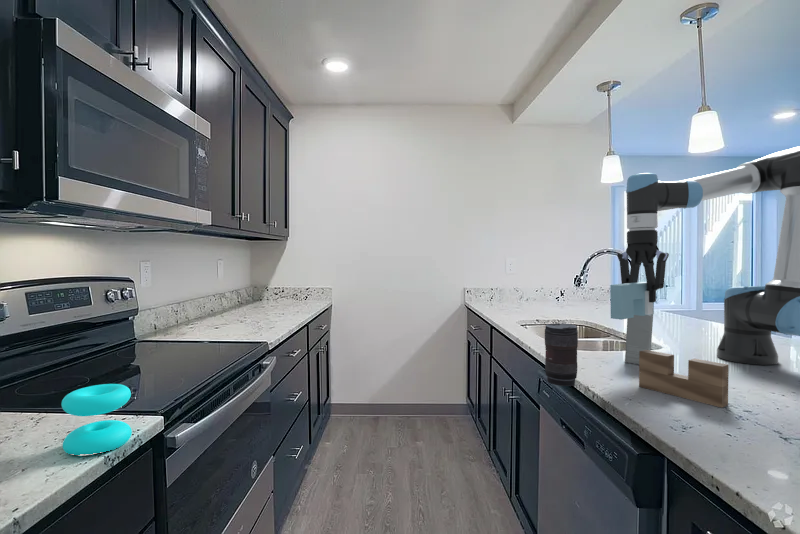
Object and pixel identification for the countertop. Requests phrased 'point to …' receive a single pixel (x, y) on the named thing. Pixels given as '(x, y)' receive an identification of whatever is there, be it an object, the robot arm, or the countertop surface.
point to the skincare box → (638, 337)
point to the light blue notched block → (628, 300)
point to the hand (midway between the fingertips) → (642, 313)
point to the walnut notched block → (685, 378)
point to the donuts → (101, 432)
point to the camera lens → (561, 353)
